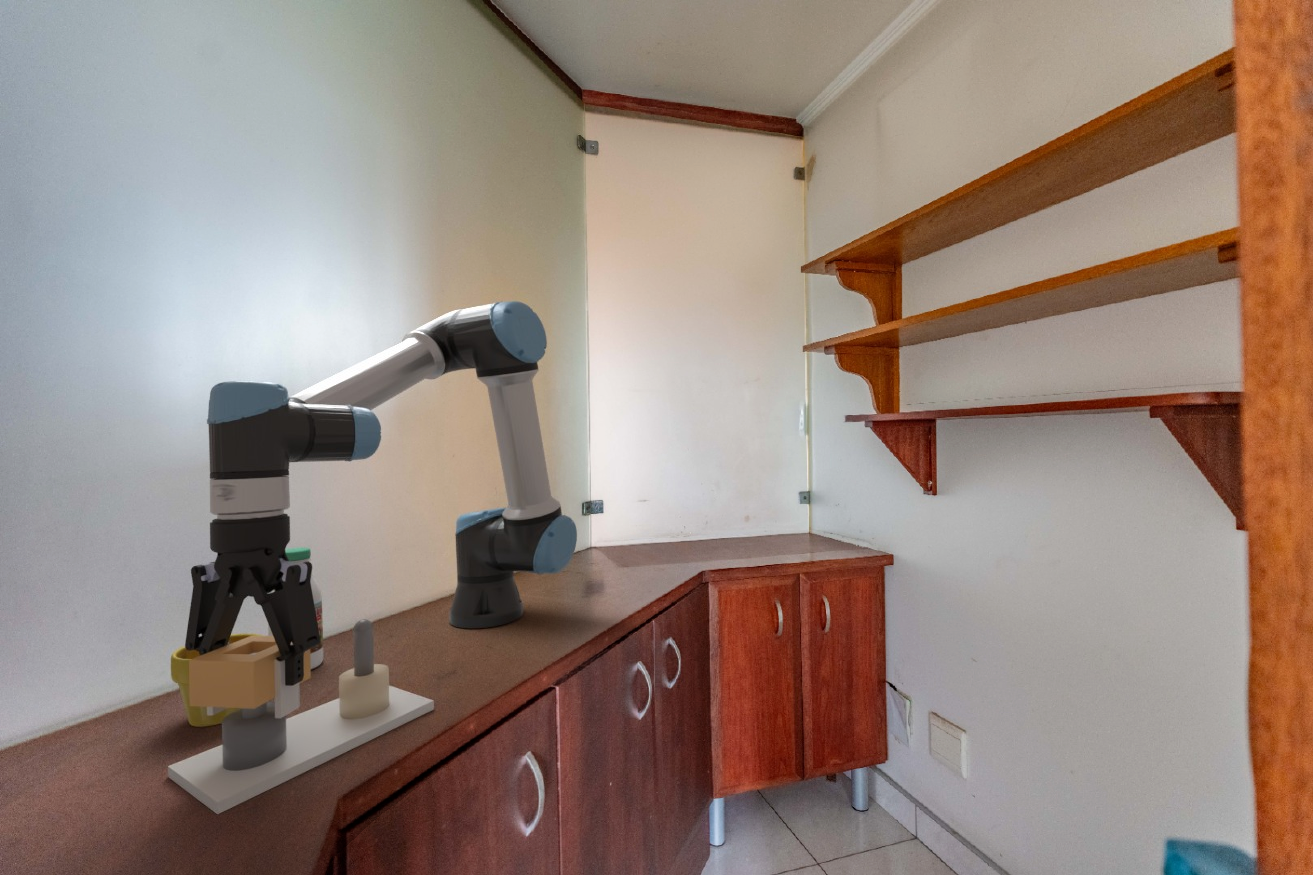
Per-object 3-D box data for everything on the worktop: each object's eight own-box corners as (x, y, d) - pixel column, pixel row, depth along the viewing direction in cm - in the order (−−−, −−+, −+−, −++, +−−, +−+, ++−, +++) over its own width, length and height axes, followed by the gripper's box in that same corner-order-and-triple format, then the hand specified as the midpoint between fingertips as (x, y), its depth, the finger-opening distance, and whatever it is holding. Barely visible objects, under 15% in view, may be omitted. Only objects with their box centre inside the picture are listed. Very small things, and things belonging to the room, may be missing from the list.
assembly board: (379, 689, 83) (377, 602, 84) (433, 709, 77) (431, 613, 77) (168, 776, 62) (166, 659, 62) (217, 814, 55) (215, 682, 55)
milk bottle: (261, 679, 89) (258, 555, 89) (279, 662, 96) (277, 547, 96) (315, 672, 91) (313, 551, 91) (329, 656, 98) (326, 543, 98)
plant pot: (280, 707, 79) (279, 638, 79) (191, 742, 70) (189, 664, 70) (245, 692, 84) (244, 628, 84) (158, 723, 75) (157, 651, 75)
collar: (252, 675, 68) (252, 635, 68) (310, 677, 67) (310, 636, 67) (189, 705, 60) (189, 660, 61) (254, 708, 59) (253, 661, 59)
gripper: (140, 519, 62) (142, 723, 62) (307, 517, 59) (310, 731, 59) (203, 511, 69) (205, 693, 69) (354, 509, 67) (357, 699, 66)
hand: (253, 710), depth 64 cm, fingers closed on collar, 8 cm apart
